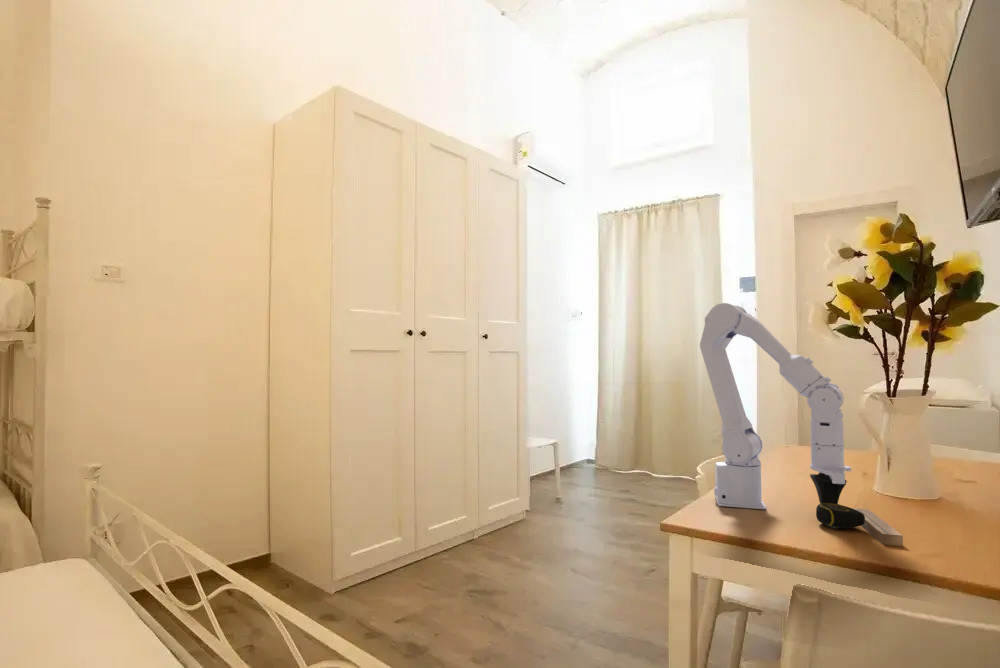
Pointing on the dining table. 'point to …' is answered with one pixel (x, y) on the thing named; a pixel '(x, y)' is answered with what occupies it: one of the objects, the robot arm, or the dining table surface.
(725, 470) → the robot arm
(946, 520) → the dining table surface
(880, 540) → the board
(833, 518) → the tape measure
